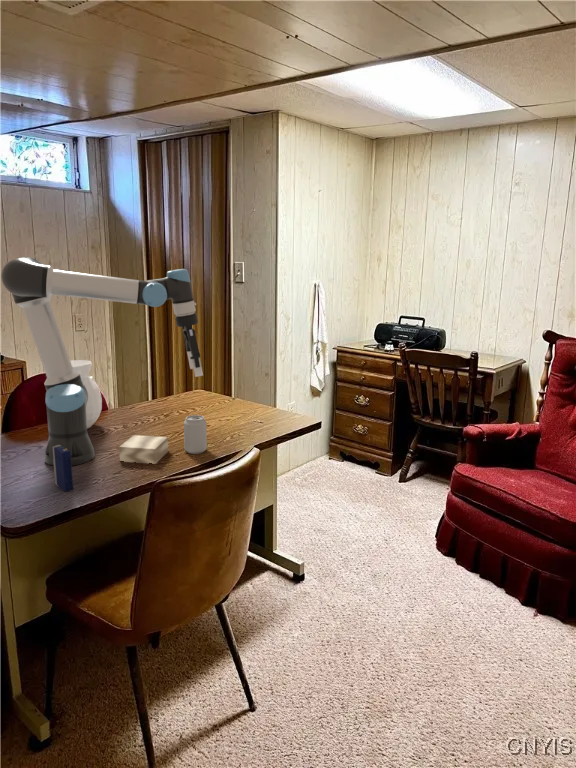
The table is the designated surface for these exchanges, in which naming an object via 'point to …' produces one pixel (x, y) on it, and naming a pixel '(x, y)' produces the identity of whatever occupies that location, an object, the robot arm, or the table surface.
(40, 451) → the table surface
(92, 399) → the pitcher
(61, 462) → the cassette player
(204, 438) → the can
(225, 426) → the table surface
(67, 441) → the robot arm
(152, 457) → the pedestal
